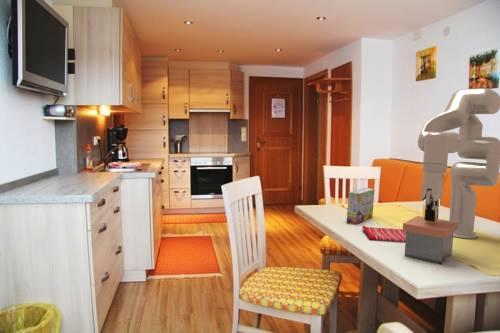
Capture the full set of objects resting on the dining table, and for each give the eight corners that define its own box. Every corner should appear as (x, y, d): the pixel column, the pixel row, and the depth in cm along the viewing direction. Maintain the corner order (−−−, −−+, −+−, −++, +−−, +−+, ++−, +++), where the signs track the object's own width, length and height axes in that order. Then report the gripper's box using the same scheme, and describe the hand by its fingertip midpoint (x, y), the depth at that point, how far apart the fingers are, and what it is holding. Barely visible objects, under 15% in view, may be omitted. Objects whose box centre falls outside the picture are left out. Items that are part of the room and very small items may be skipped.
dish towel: (361, 230, 170) (361, 225, 170) (416, 234, 167) (417, 228, 167) (367, 241, 153) (368, 235, 153) (430, 245, 150) (430, 239, 150)
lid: (417, 222, 146) (418, 200, 145) (457, 229, 137) (459, 205, 136) (402, 230, 134) (404, 206, 133) (446, 238, 125) (448, 212, 124)
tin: (417, 247, 146) (418, 224, 145) (451, 254, 138) (453, 230, 137) (404, 255, 135) (406, 230, 134) (441, 264, 127) (443, 237, 126)
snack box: (357, 225, 178) (359, 193, 177) (346, 223, 182) (347, 191, 180) (373, 217, 195) (375, 188, 194) (362, 216, 199) (364, 187, 197)
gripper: (430, 165, 142) (426, 214, 144) (415, 168, 130) (412, 222, 131) (452, 167, 137) (448, 217, 139) (439, 170, 125) (436, 226, 127)
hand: (431, 219), depth 135 cm, fingers closed on lid, 3 cm apart
